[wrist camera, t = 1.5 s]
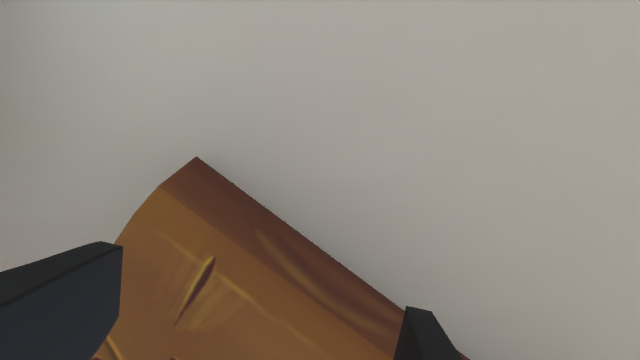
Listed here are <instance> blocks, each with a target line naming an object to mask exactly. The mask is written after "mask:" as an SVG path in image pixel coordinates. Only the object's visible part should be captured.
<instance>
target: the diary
mask: <svg viewBox="0 0 640 360" xmlns="http://www.w3.org/2000/svg"><path fill="white" fill-rule="evenodd" d="M114 244H115V245H120V246H123V260H122V276H121V293H120V309H119V317H118V319H117V321H116V322H115V324H114V326H113V327H112V329H111V331H110V332H109V334H108V336H107V337H106V339H105V340H104V342H103V344H102V345H101V347H100V348H99V349H98V351H97V352H96V353H95V354H94V356H93V357H92V358H91V359H90V360H393V358H394V354H395V350H396V346H397V342H398V338H399V334H400V330H401V326H402V322H403V318H404V314H405V311H404V310H402V309H401V308H399V307H398V306H397V305H395V304H394V303H393V302H391V301H390V300H389V299H387V298H386V297H385V296H383V295H382V294H381V293H379V292H378V291H377V290H375V289H374V288H373V287H371V286H370V285H369V284H367V283H366V282H365V281H363V280H362V279H360V278H359V277H358V276H356V275H355V274H354V273H352V272H351V271H350V270H348V269H347V268H346V267H344V266H343V265H342V264H340V263H339V262H338V261H336V260H335V259H334V258H332V257H331V256H330V255H328V254H327V253H326V252H324V251H323V250H321V249H320V248H319V247H317V246H316V245H315V244H313V243H312V242H311V241H309V240H308V239H307V238H305V237H304V236H303V235H301V234H300V233H299V232H297V231H296V230H295V229H293V228H292V227H291V226H289V225H288V224H287V223H285V222H284V221H282V220H281V219H280V218H278V217H277V216H276V215H274V214H273V213H272V212H270V211H269V210H268V209H266V208H265V207H264V206H262V205H261V204H260V203H258V202H257V201H256V200H254V199H253V198H252V197H250V196H249V195H248V194H246V193H245V192H244V191H242V190H241V189H239V188H238V187H237V186H235V185H234V184H233V183H231V182H230V181H229V180H227V179H226V178H225V177H223V176H222V175H221V174H219V173H218V172H217V171H215V170H214V169H213V168H211V167H210V166H209V165H207V164H206V163H205V162H203V161H202V160H200V159H199V158H198V157H195V158H194V159H193V160H191V161H190V162H189V163H187V164H186V165H185V166H184V167H182V168H181V169H180V170H178V171H177V172H176V173H175V174H173V175H172V176H171V177H170V178H168V179H167V180H166V181H164V182H163V183H162V184H161V185H159V186H158V187H157V188H156V189H155V191H154V192H153V193H152V194H151V195H150V196H149V197H148V199H147V200H146V201H145V202H144V203H143V204H142V205H141V207H140V208H139V209H138V210H137V211H136V212H135V214H134V215H133V216H132V218H131V219H130V221H129V222H128V224H127V225H126V227H125V228H124V230H123V231H122V233H121V234H120V236H119V237H118V239H117V240H116V242H115V243H114ZM457 352H458V353H459V355H460V356H461V357H462V359H463V360H469V359H468V358H467V357H465V356H464V355H463V354H461V353H460V352H459V351H457Z"/></svg>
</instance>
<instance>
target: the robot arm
mask: <svg viewBox="0 0 640 360" xmlns="http://www.w3.org/2000/svg"><path fill="white" fill-rule="evenodd" d="M122 260H123V246H120V245H115V244H111V243H106V242H101V241H100V242H95V243H91V244H87V245H84V246H81V247H78V248H75V249H71V250H68V251H66V252H63V253H60V254H57V255H54V256H51V257H48V258H45V259H42V260H39V261H36V262H33V263H30V264H26V265H23V266H20V267H16V268H13V269H10V270H6V271H3V272H0V360H90V359H91V358H92V357H93V356H94V354H95V353H96V352H97V351H98V349H99V348H100V347H101V345H102V344H103V342H104V340H105V339H106V337H107V336H108V334H109V332H110V331H111V329H112V327H113V326H114V324H115V322H116V321H117V319H118V317H119V309H120V293H121V276H122ZM393 360H463V359H462V357H461V356H460V355H459V353H458V352H457V350H456V349H455V347H454V346H453V344H452V343H451V341H450V340H449V338H448V337H447V335H446V334H445V332H444V331H443V329H442V327H441V326H440V324H439V323H438V321H437V320H436V318H435V316H434V315H433V313H432V312H431V311H427V310H422V309H418V308H413V307H408V306H406V309H405V314H404V318H403V322H402V326H401V330H400V334H399V338H398V342H397V346H396V350H395V354H394V358H393Z"/></svg>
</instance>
